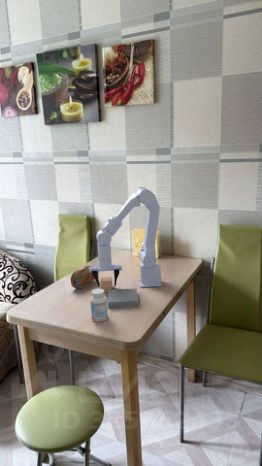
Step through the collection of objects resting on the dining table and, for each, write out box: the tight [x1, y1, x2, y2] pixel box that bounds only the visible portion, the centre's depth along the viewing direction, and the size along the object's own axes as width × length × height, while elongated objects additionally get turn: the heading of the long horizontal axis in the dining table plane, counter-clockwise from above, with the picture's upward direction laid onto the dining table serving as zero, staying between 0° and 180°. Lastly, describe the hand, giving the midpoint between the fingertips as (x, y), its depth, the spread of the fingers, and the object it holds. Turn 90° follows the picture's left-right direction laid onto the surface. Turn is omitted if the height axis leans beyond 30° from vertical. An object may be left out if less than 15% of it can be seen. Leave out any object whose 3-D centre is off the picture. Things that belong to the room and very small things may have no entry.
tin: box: [70, 265, 95, 290], centre depth 164 cm, size 15×3×8 cm, turn 147°
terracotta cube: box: [100, 276, 114, 292], centre depth 159 cm, size 5×5×5 cm
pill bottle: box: [89, 288, 109, 323], centre depth 132 cm, size 6×6×11 cm
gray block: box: [107, 287, 139, 309], centre depth 147 cm, size 12×12×3 cm
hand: (106, 285), depth 159 cm, fingers open, 7 cm apart
